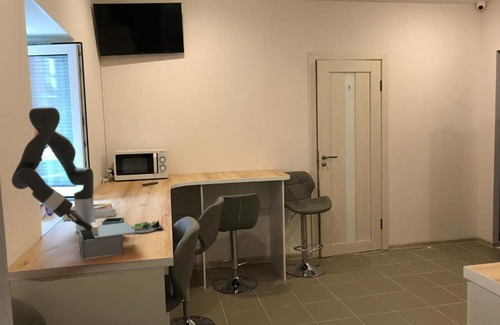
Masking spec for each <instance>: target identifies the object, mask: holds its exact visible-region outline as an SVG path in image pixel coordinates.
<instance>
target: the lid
mask: <svg viewBox="0 0 500 325" xmlns="http://www.w3.org/2000/svg"><path fill="white" fill-rule="evenodd" d="M91 226H92V228H91V232H92V234H93V236H94V238H95V239H97V238H105V237H113V236H120V235H123V236H128V235H134V234H137V233H136V232H135V231H134V229H133V228H132V227H131V226H132V225H130V224H129V222H124V223H118V224H109V225H102V224H100V225H98V224H97V221H96V222H92V223H91Z"/></svg>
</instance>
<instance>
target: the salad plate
mask: <svg viewBox="0 0 500 325" xmlns="http://www.w3.org/2000/svg"><path fill="white" fill-rule="evenodd" d="M130 226H131V227H132V228H133V230H134V231H135V232H136V234H148V233H149V234H150V233H152V232H156V231H160V230H162V229H164V226H163V225H161V224H160V221H159V220H156V221H152V222H148V221H142V222H139V223H138V222H137V223H134V225H130Z"/></svg>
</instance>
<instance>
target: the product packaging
mask: <svg viewBox="0 0 500 325" xmlns="http://www.w3.org/2000/svg"><path fill="white" fill-rule="evenodd" d="M93 205H94V211H95V219H100V218H99V217H102V218H109V217H108V216H112V217H116V213H115V212H116V211H115V210H116V209H115V206H114V205H113V203H112V202H109V203H99V204H98V203H97V204H95V203H93ZM70 209H71V210H75V205H72V207H71V208H70ZM68 220H69V219H68V217H67V215H64V216H63V221H64V222H69V221H68Z"/></svg>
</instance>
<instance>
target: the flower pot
mask: <svg viewBox="0 0 500 325" xmlns="http://www.w3.org/2000/svg"><path fill="white" fill-rule="evenodd" d="M118 223H125V217H105V219H103V221H101V225H109V224H118Z"/></svg>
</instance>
